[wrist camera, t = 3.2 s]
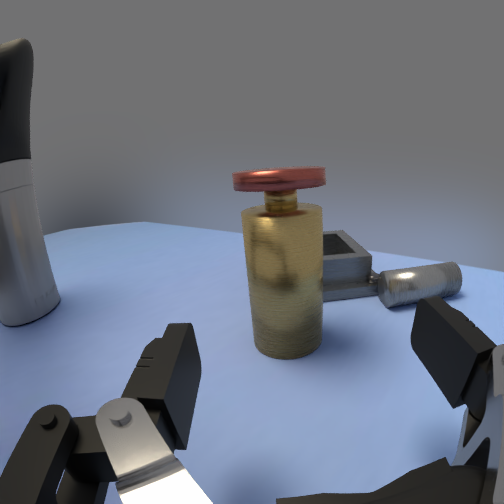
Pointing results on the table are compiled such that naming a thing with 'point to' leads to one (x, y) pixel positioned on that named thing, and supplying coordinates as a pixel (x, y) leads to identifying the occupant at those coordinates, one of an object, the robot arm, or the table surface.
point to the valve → (284, 260)
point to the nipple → (418, 283)
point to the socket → (346, 268)
